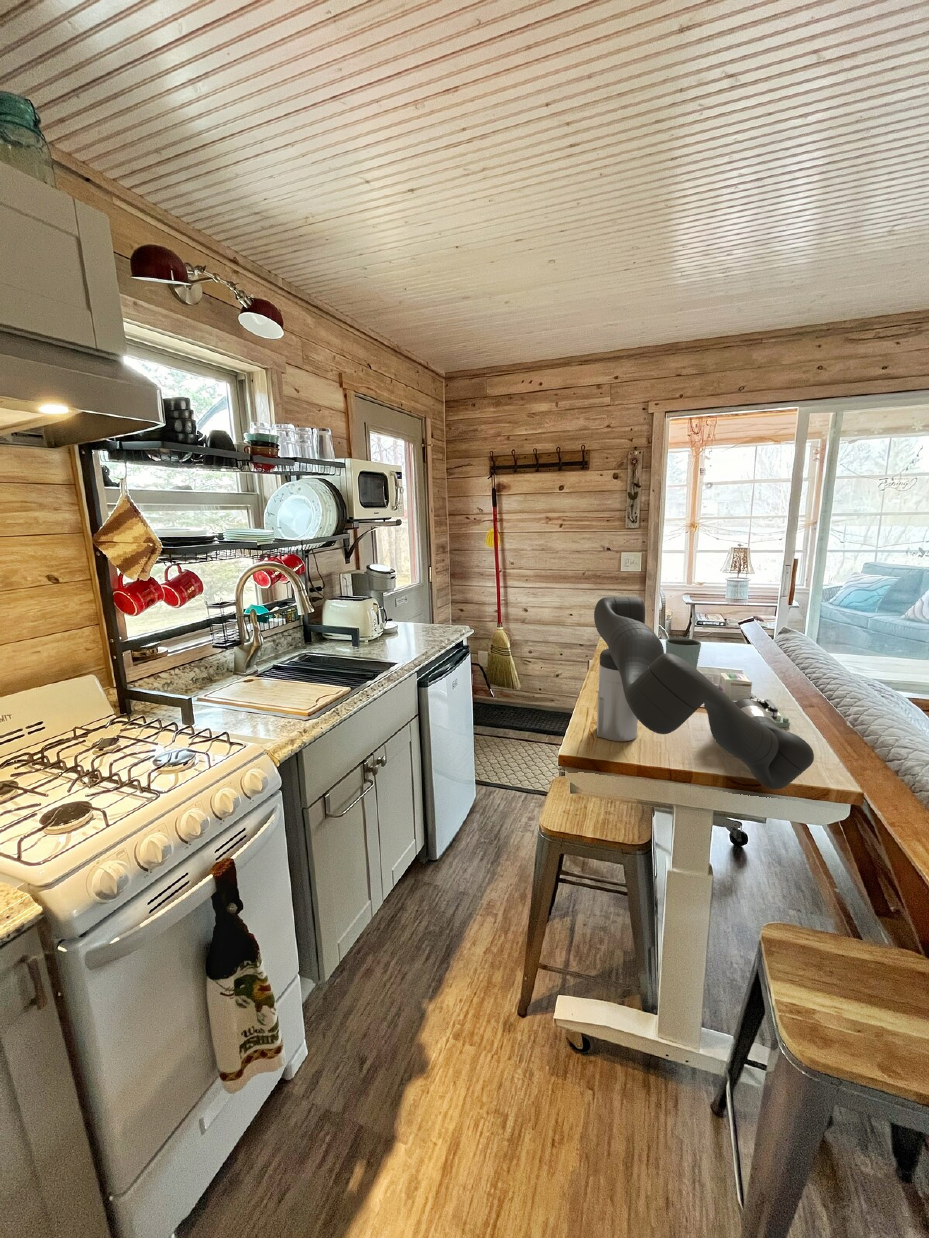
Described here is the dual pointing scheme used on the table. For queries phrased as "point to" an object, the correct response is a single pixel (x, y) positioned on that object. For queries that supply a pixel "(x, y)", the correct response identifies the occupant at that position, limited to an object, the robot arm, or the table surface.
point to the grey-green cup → (684, 649)
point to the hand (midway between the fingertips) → (730, 695)
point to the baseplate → (781, 720)
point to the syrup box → (735, 686)
